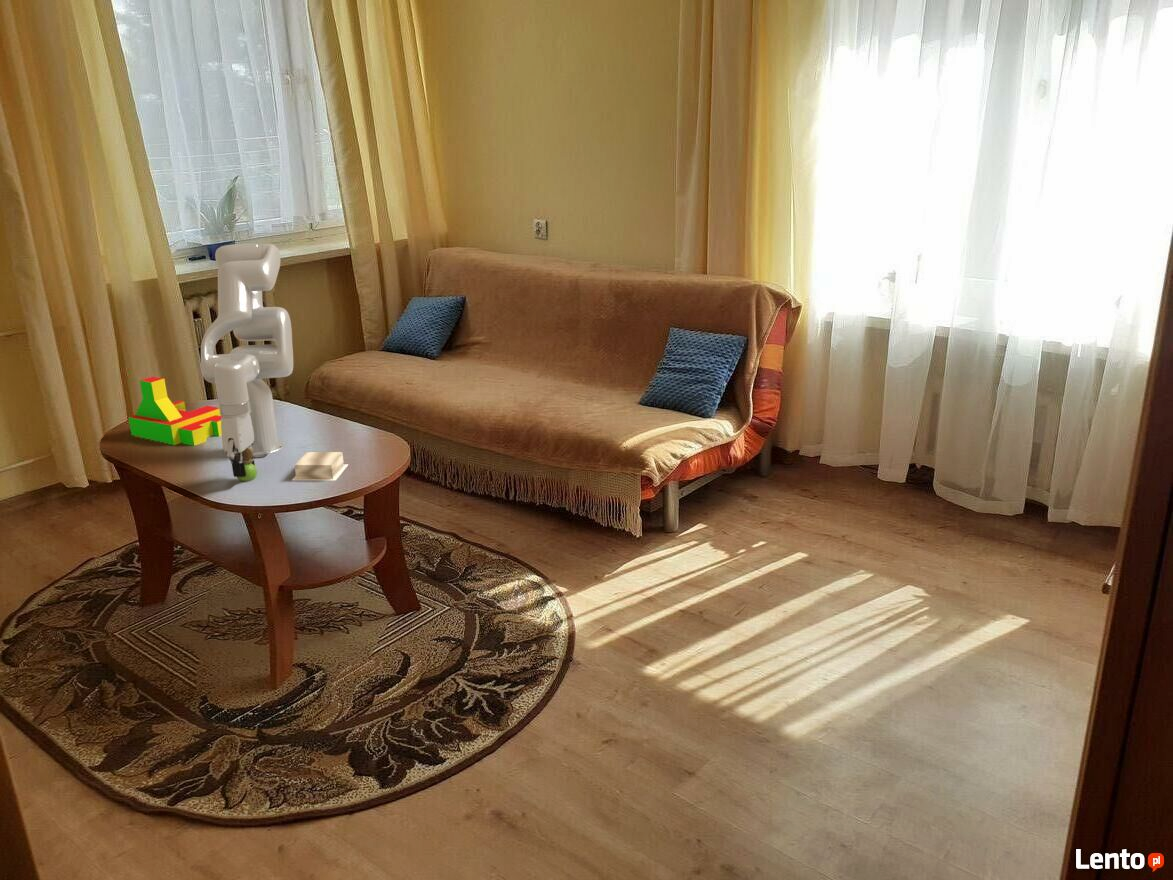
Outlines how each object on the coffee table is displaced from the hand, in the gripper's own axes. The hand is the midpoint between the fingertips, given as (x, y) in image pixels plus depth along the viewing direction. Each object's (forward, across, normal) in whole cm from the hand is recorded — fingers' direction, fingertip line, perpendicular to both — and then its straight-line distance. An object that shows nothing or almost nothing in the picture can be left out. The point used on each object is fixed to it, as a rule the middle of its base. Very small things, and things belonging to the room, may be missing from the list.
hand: (244, 471), depth 249 cm
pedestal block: (+2, -5, +19) cm, 20 cm away
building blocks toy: (+4, -41, -36) cm, 54 cm away
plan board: (+3, -6, +16) cm, 17 cm away
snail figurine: (+3, 0, 0) cm, 3 cm away
